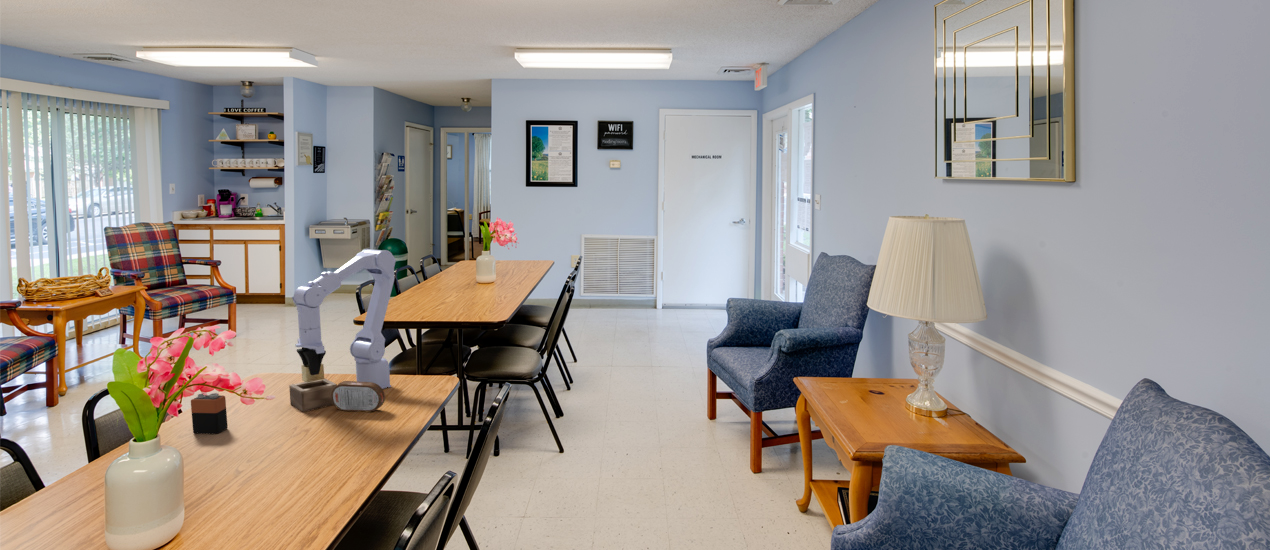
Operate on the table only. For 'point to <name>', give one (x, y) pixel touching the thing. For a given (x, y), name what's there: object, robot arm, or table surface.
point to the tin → (358, 396)
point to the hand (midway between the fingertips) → (312, 373)
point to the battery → (209, 413)
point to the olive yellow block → (310, 378)
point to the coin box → (311, 394)
